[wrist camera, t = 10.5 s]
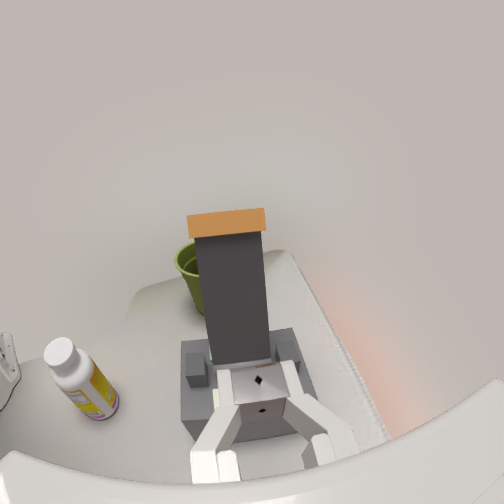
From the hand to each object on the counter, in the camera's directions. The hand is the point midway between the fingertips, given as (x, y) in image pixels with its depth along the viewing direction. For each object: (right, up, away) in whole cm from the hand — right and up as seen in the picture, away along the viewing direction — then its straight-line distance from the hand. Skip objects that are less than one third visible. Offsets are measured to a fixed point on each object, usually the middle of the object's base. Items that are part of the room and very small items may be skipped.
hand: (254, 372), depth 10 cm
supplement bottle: (-23, -18, +21) cm, 36 cm away
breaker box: (-1, -16, +23) cm, 28 cm away
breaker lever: (-1, -7, +17) cm, 19 cm away
